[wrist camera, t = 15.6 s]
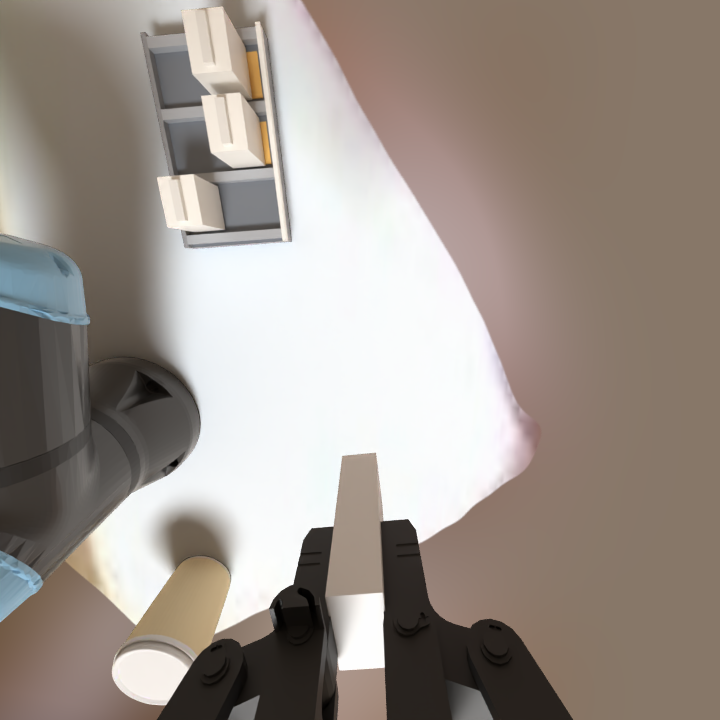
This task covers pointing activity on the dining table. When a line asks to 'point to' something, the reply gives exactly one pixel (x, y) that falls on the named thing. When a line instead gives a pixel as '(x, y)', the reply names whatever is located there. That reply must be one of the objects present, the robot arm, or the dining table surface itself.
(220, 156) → the tab
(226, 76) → the tab
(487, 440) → the dining table surface
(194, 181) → the tab
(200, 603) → the coffee cup
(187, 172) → the switch bank
